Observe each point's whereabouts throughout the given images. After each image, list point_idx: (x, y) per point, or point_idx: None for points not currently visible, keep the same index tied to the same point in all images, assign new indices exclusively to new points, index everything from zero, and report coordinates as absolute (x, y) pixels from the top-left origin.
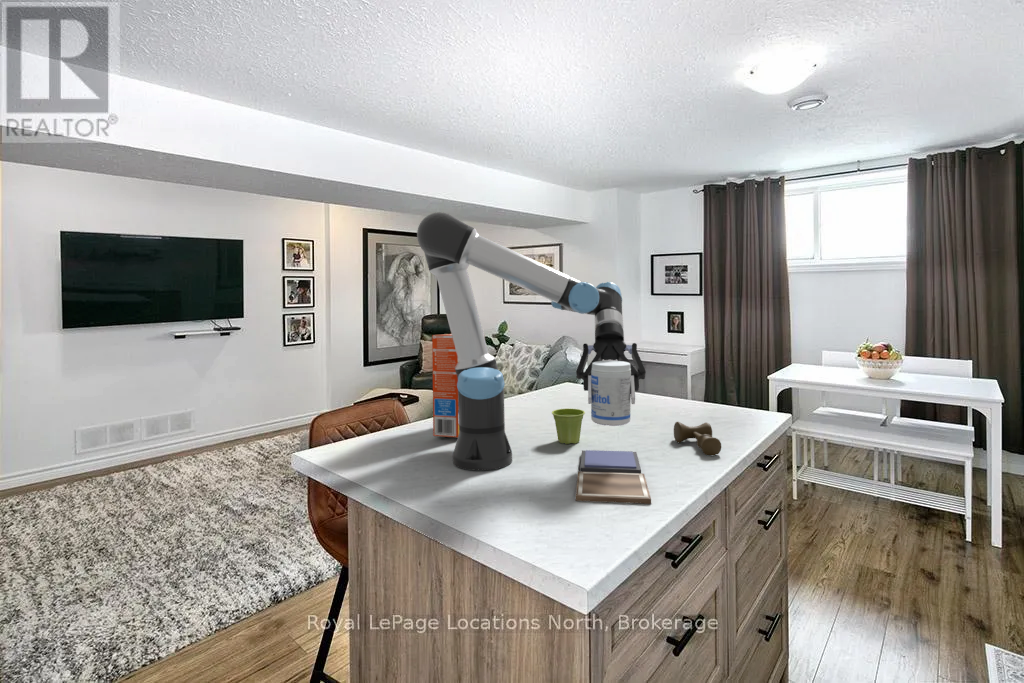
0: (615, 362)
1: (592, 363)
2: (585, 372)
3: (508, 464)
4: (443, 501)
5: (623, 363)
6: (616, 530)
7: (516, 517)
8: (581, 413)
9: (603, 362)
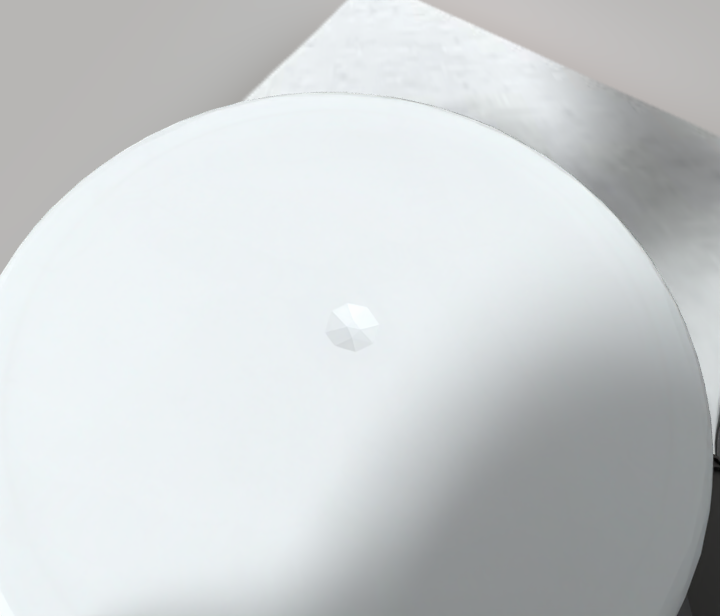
0: (260, 409)
1: (674, 300)
2: (715, 475)
3: (717, 453)
4: (716, 180)
5: (121, 285)
6: (325, 90)
7: (527, 125)
8: None
9: (507, 401)
